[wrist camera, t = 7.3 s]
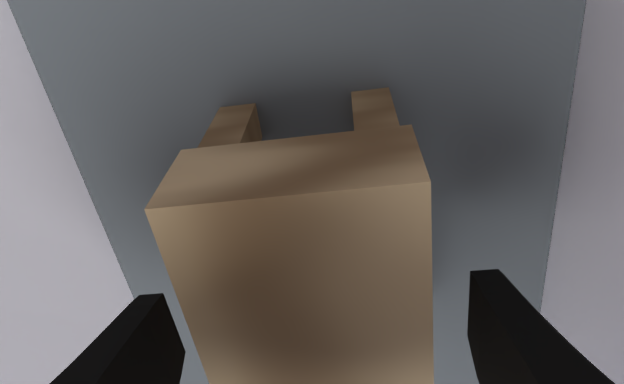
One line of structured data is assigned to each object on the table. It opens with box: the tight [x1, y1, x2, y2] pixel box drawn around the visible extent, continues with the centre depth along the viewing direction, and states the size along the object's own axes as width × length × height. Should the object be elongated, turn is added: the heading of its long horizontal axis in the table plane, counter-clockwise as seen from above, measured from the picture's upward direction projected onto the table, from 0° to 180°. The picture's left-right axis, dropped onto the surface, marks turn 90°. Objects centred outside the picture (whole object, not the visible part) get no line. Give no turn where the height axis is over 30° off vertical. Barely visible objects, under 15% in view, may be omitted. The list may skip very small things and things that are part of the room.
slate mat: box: [7, 0, 586, 384], centre depth 15 cm, size 18×14×1 cm
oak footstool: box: [144, 87, 434, 384], centre depth 13 cm, size 5×8×5 cm, turn 8°
